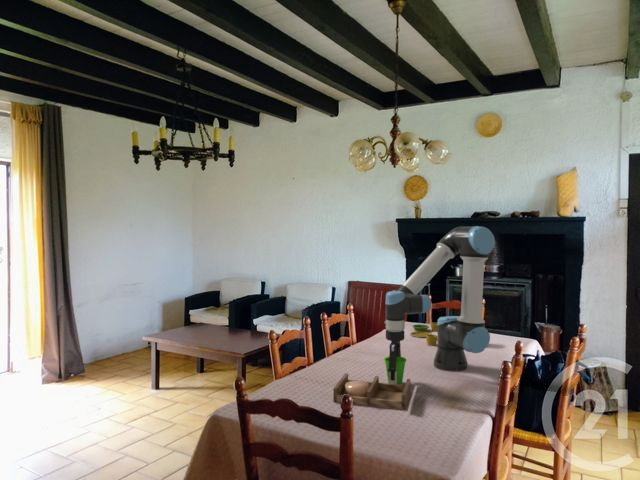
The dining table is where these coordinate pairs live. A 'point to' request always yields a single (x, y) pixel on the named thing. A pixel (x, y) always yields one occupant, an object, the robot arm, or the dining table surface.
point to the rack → (377, 394)
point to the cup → (397, 368)
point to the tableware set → (425, 333)
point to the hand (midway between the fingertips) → (395, 382)
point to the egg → (356, 388)
